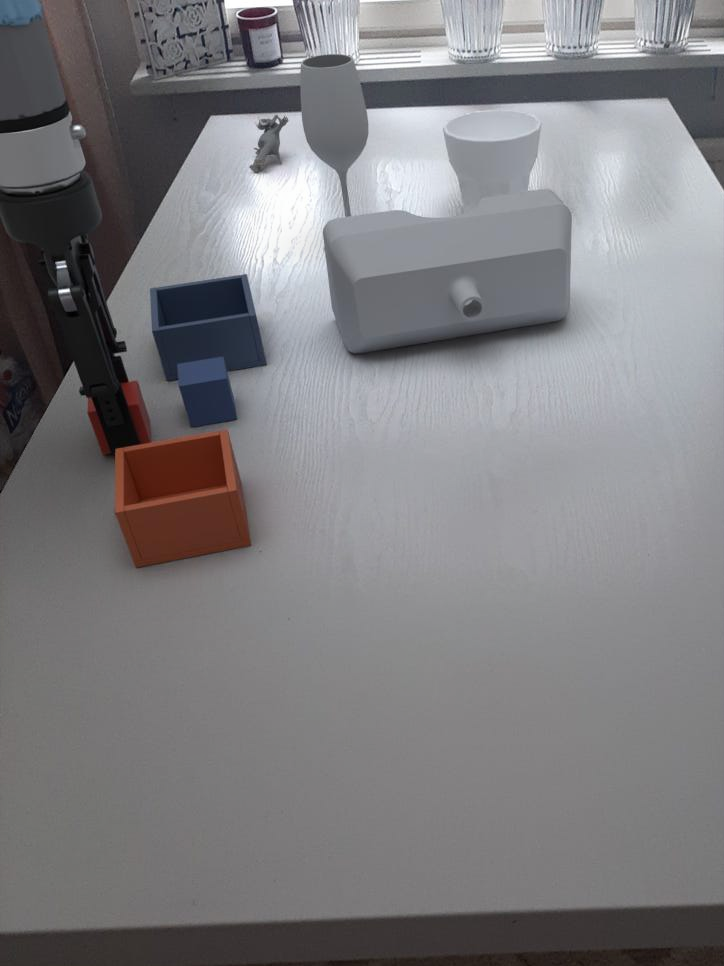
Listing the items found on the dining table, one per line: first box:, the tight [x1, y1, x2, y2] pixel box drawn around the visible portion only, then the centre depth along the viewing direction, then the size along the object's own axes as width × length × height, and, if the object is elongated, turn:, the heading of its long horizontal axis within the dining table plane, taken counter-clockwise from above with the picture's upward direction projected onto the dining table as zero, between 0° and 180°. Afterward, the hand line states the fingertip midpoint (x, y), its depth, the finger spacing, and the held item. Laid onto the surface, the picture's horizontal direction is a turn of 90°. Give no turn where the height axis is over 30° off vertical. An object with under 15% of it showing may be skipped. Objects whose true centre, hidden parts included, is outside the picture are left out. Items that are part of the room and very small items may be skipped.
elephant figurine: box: [249, 114, 290, 174], centre depth 146 cm, size 10×6×9 cm
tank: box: [322, 188, 573, 354], centre depth 101 cm, size 25×16×12 cm, turn 105°
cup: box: [442, 109, 542, 214], centre depth 125 cm, size 12×12×11 cm
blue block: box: [177, 357, 238, 428], centre depth 94 cm, size 4×4×4 cm
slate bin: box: [149, 273, 268, 382], centre depth 103 cm, size 10×10×6 cm
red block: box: [86, 380, 152, 455], centre depth 90 cm, size 4×4×4 cm
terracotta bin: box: [114, 428, 252, 569], centre depth 81 cm, size 9×9×6 cm
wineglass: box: [299, 53, 369, 252], centre depth 116 cm, size 8×8×21 cm
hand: (126, 434), depth 92 cm, fingers closed on red block, 4 cm apart
